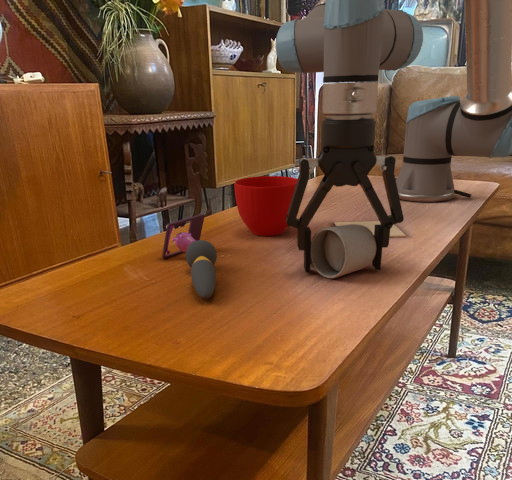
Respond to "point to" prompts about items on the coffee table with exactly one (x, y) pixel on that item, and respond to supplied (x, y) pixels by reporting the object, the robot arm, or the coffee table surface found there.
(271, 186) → the ceramic cup
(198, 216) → the purple open frame
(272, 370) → the coffee table surface
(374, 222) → the coaster
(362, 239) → the ceramic mug
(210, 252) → the grey wand massager
